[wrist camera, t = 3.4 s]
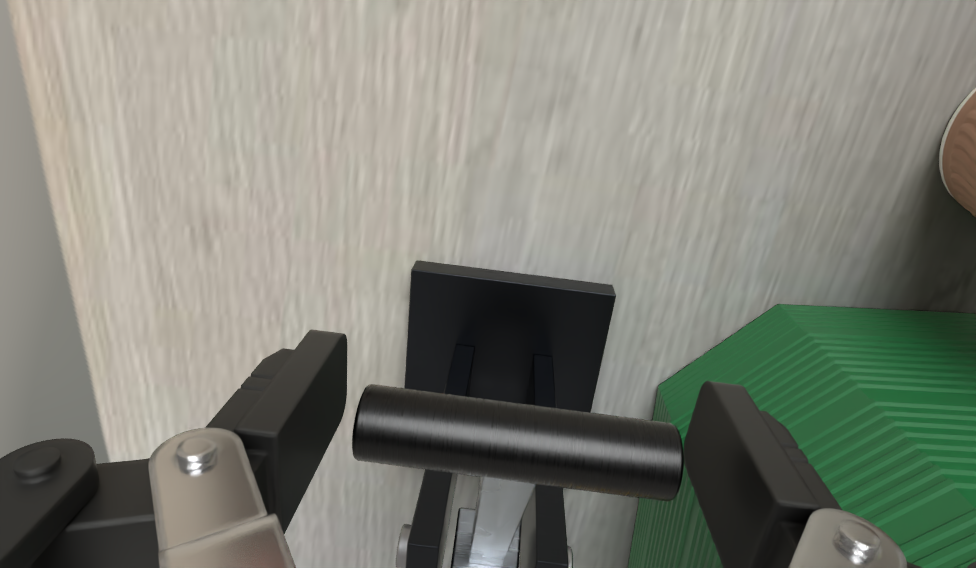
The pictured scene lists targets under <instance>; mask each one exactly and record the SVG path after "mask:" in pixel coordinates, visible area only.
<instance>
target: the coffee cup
mask: <svg viewBox="0 0 976 568" xmlns="http://www.w3.org/2000/svg"><path fill="white" fill-rule="evenodd" d="M939 169H940V173H941V177H942V181H943V183H944V185H945V187H946V189H947V191H948V192H949V194H950V195H951V196H952V197H953V198H954V199H955V200H956V201H957V202H958V203H959V204H961V205H962V206H963V207H964V208H965V209H966V210H968V211H970V212H971V215H972V216H974V217H976V88H975V89H974V90H972V91H971V93H970V94H969V95H968V96H967V97H966V98H965V100H964V101H963V102H962V103H961V104H960V105H959V107H958V108H957V110H956V111H955V113H954V115H953V116H952V118H951V119H950V121H949V123H948V126H947V128H946V131H945V133H944V135H943V138H942V143H941V147H940V152H939Z"/></svg>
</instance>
